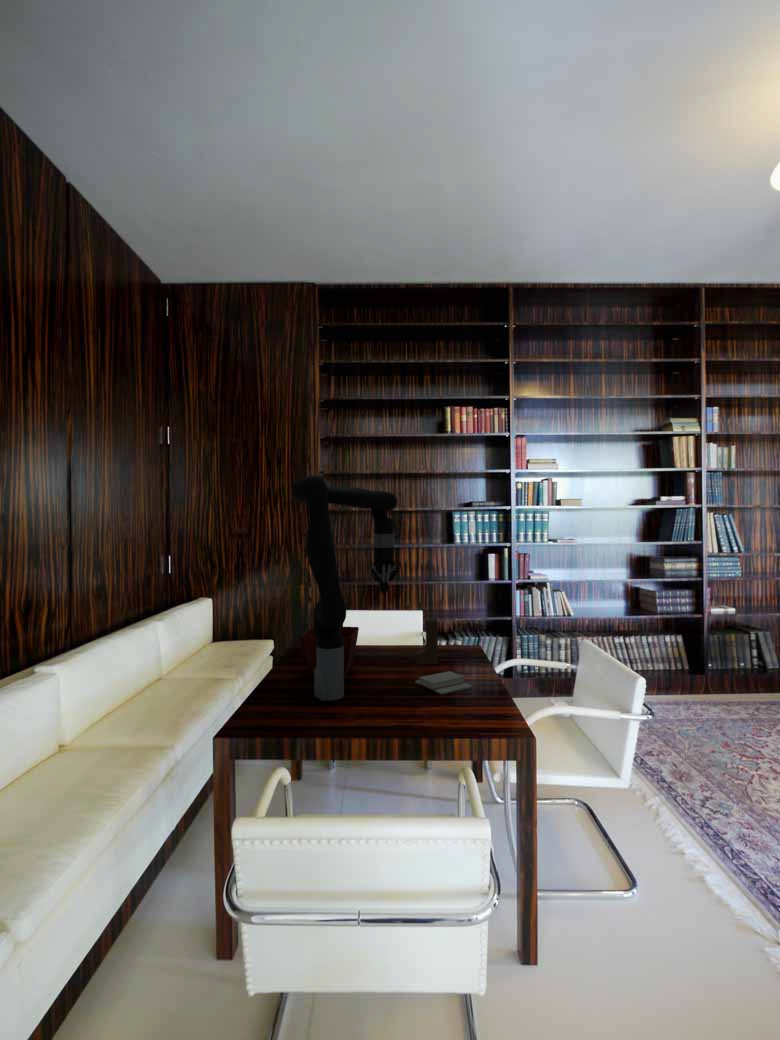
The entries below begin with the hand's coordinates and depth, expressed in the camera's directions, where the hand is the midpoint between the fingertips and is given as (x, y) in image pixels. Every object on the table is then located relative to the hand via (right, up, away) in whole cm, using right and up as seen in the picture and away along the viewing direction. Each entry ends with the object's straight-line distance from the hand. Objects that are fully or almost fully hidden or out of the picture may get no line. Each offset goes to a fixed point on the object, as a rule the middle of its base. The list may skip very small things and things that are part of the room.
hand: (384, 592), depth 197 cm
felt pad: (+22, -33, -4) cm, 40 cm away
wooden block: (+17, -33, +25) cm, 45 cm away
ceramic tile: (+15, -31, -8) cm, 35 cm away
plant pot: (-21, -33, +11) cm, 41 cm away
